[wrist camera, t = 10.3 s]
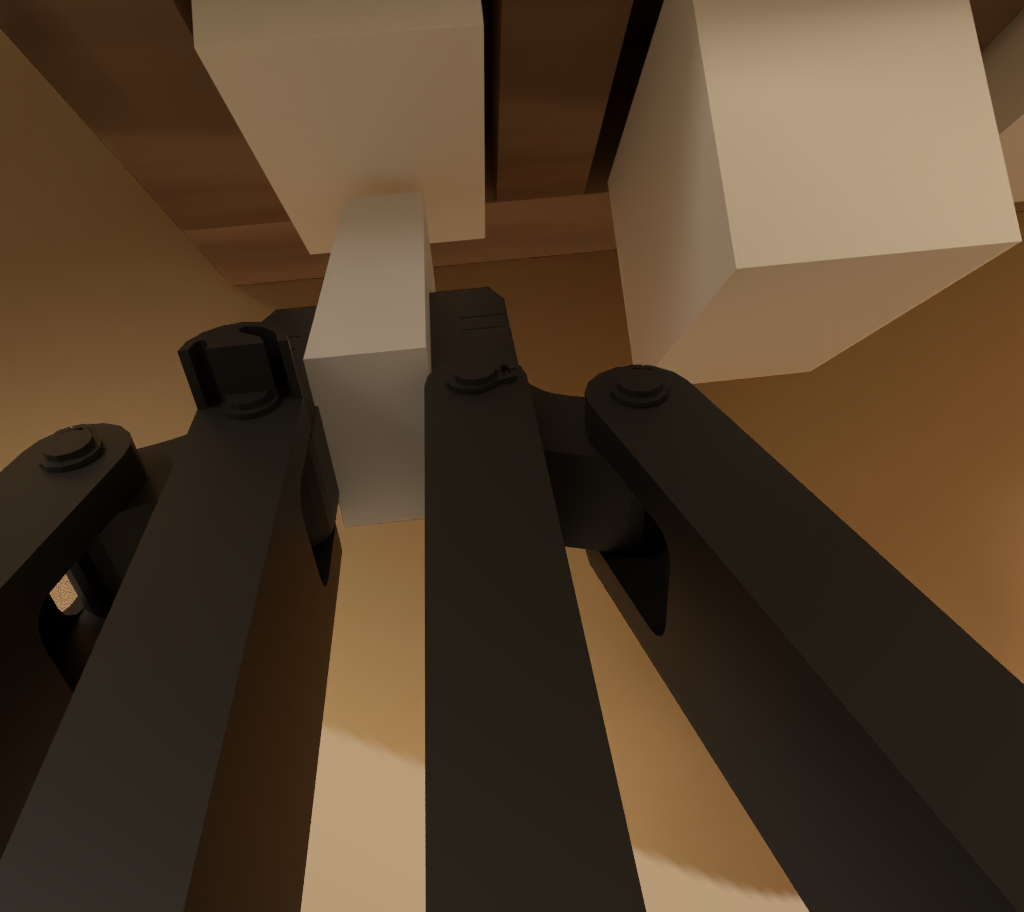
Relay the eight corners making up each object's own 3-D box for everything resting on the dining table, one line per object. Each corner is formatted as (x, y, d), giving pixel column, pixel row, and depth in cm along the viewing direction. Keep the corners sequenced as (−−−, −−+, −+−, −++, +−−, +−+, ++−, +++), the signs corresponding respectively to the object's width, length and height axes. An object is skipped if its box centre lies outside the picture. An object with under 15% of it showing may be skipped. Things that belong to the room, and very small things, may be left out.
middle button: (607, 182, 18) (682, -62, 11) (774, 167, 18) (951, -82, 11) (636, 389, 17) (736, 268, 10) (809, 371, 17) (1022, 241, 11)
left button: (294, 54, 18) (176, -262, 11) (462, 41, 18) (447, -278, 11) (310, 254, 17) (194, 47, 11) (485, 238, 18) (484, 24, 11)
